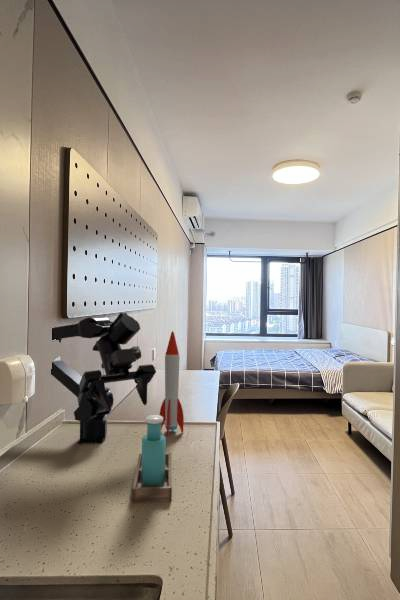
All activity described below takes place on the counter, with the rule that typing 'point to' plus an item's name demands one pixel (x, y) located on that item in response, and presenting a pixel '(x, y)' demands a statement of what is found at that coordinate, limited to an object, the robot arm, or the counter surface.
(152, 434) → the bottle
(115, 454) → the counter surface
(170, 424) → the toy rocket
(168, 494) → the caddy
